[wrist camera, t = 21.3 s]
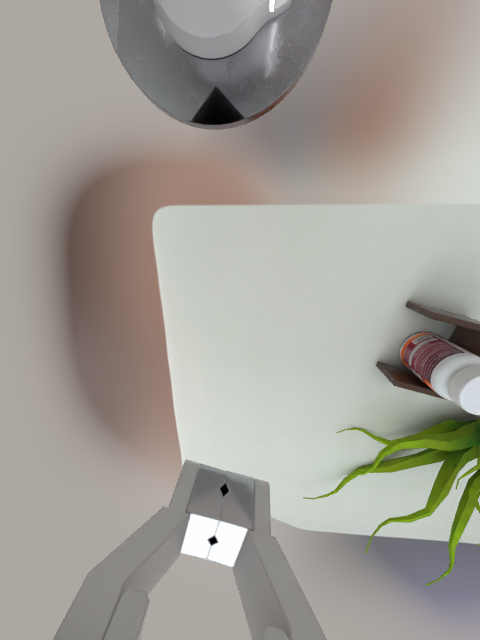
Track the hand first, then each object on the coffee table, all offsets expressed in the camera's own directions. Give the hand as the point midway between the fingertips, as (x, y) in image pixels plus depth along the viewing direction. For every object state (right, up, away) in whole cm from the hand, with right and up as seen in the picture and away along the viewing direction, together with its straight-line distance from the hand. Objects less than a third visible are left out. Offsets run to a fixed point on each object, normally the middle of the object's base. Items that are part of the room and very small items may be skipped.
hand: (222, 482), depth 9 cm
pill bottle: (+27, +1, +28) cm, 39 cm away
